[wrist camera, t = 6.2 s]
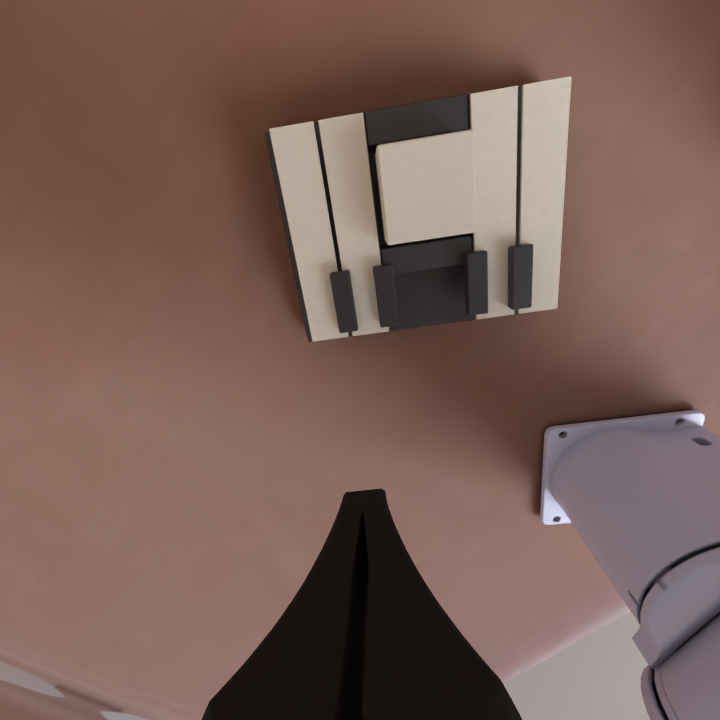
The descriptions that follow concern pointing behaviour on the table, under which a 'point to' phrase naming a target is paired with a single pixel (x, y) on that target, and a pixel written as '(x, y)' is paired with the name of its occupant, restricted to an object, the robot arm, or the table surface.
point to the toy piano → (419, 258)
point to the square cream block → (427, 187)
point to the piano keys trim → (493, 213)
